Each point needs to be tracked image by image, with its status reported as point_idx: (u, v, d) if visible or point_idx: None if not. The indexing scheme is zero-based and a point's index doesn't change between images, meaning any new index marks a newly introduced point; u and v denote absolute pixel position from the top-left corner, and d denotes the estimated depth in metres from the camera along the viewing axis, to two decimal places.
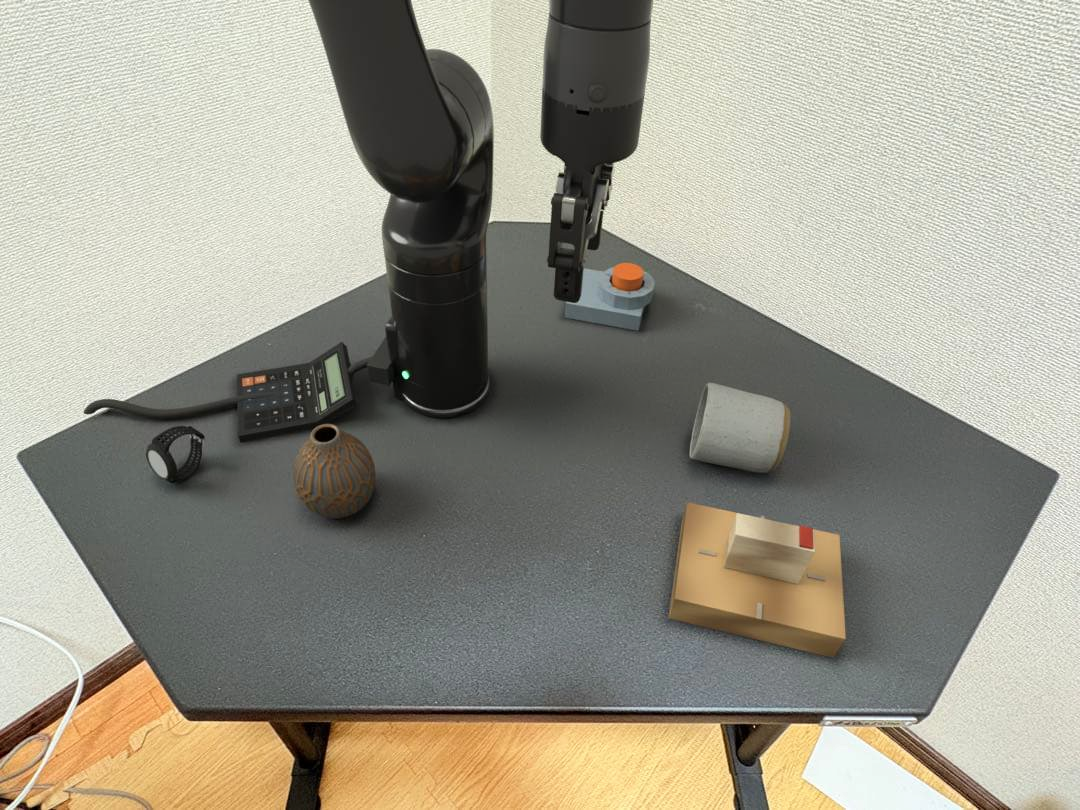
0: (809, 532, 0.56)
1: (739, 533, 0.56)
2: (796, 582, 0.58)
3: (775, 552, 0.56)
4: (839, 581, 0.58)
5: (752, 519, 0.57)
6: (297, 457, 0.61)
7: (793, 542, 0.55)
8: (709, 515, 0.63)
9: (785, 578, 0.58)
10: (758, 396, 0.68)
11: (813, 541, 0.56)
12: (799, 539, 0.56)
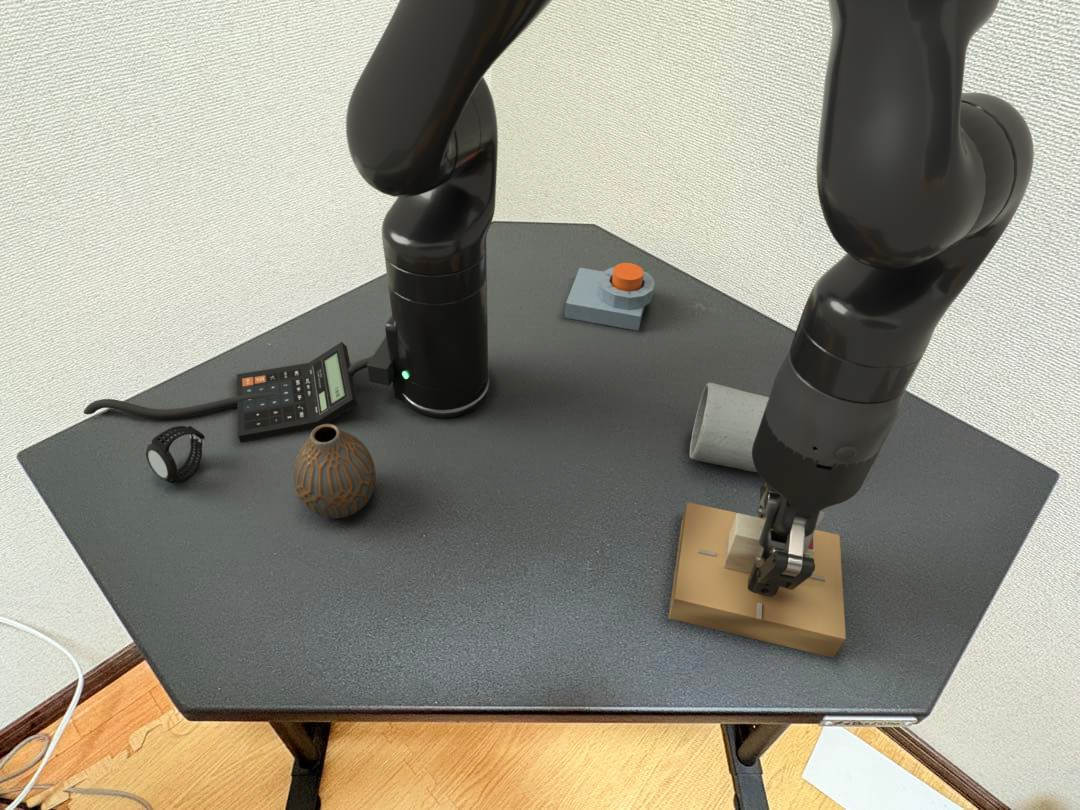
0: None
1: (739, 533, 0.56)
2: None
3: None
4: (839, 581, 0.58)
5: (752, 519, 0.57)
6: (297, 457, 0.61)
7: None
8: (709, 515, 0.63)
9: None
10: (758, 396, 0.68)
11: (813, 541, 0.56)
12: None
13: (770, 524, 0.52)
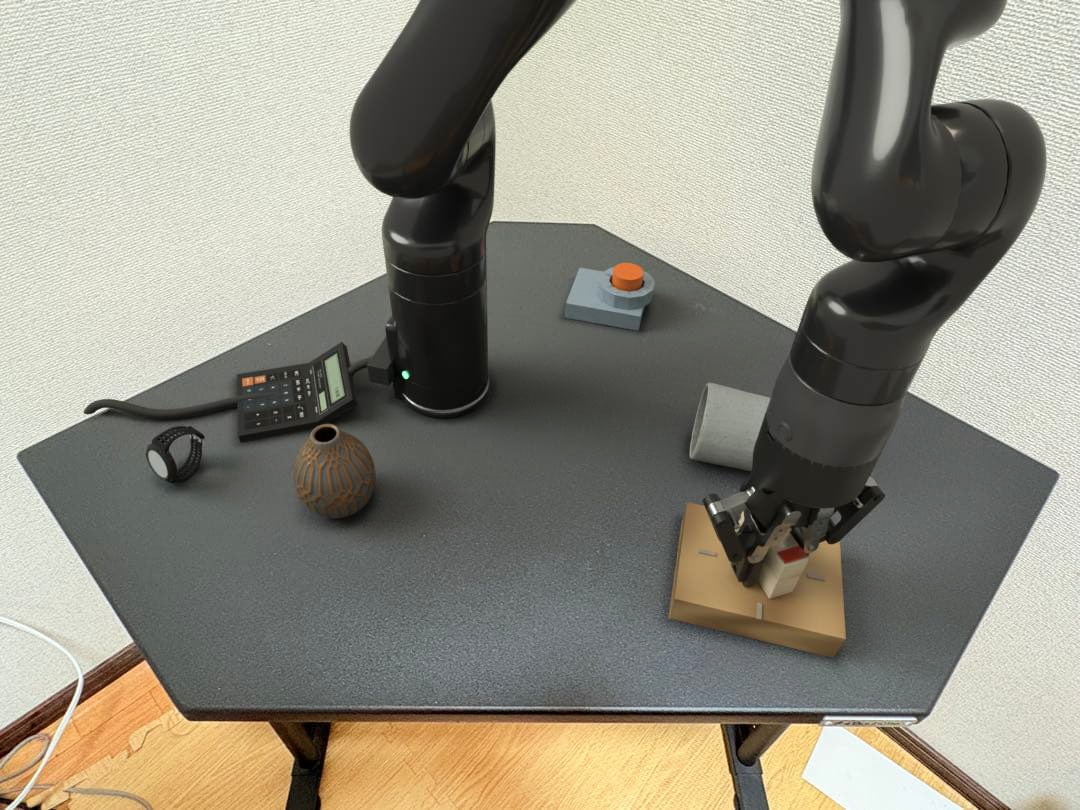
0: (799, 554, 0.54)
1: None
2: (768, 595, 0.57)
3: None
4: (839, 581, 0.58)
5: None
6: (297, 457, 0.61)
7: (777, 547, 0.55)
8: None
9: (762, 584, 0.57)
10: (758, 396, 0.68)
11: (794, 561, 0.54)
12: (786, 551, 0.55)
13: None
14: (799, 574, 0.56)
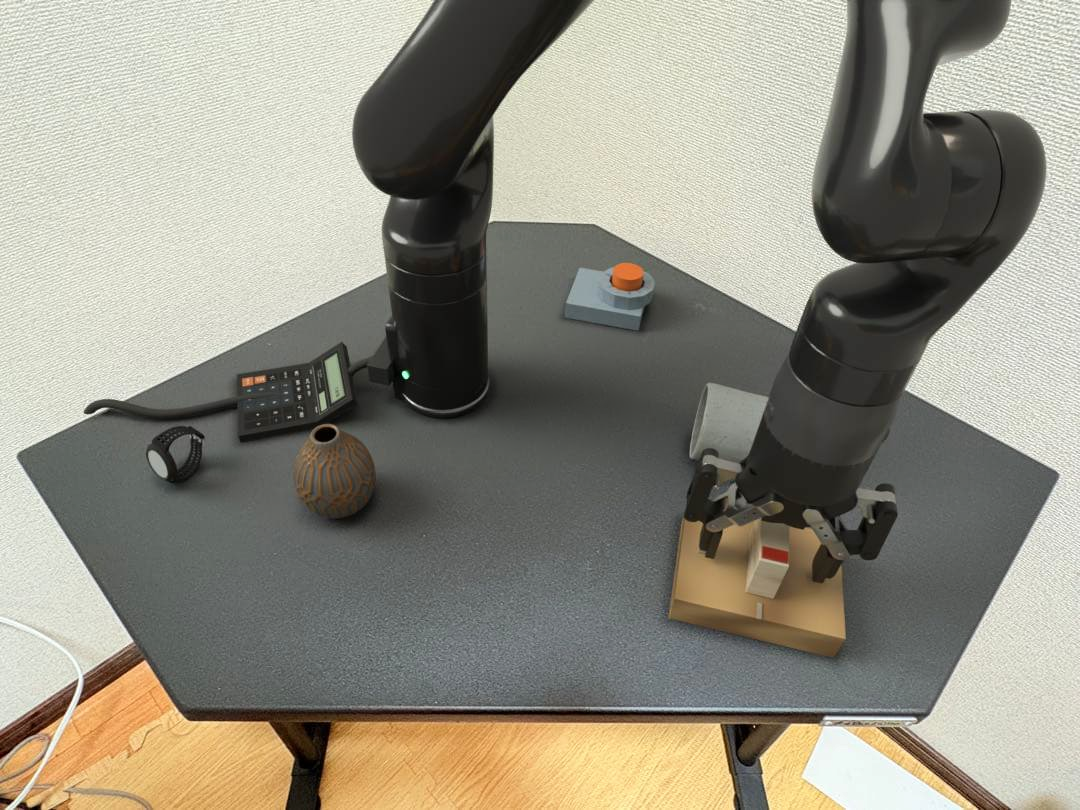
0: (781, 557, 0.54)
1: None
2: (746, 588, 0.57)
3: (757, 540, 0.57)
4: (839, 581, 0.58)
5: None
6: (297, 457, 0.61)
7: (765, 543, 0.55)
8: None
9: (747, 577, 0.58)
10: (758, 396, 0.68)
11: (771, 560, 0.54)
12: (771, 550, 0.55)
13: None
14: (778, 580, 0.55)
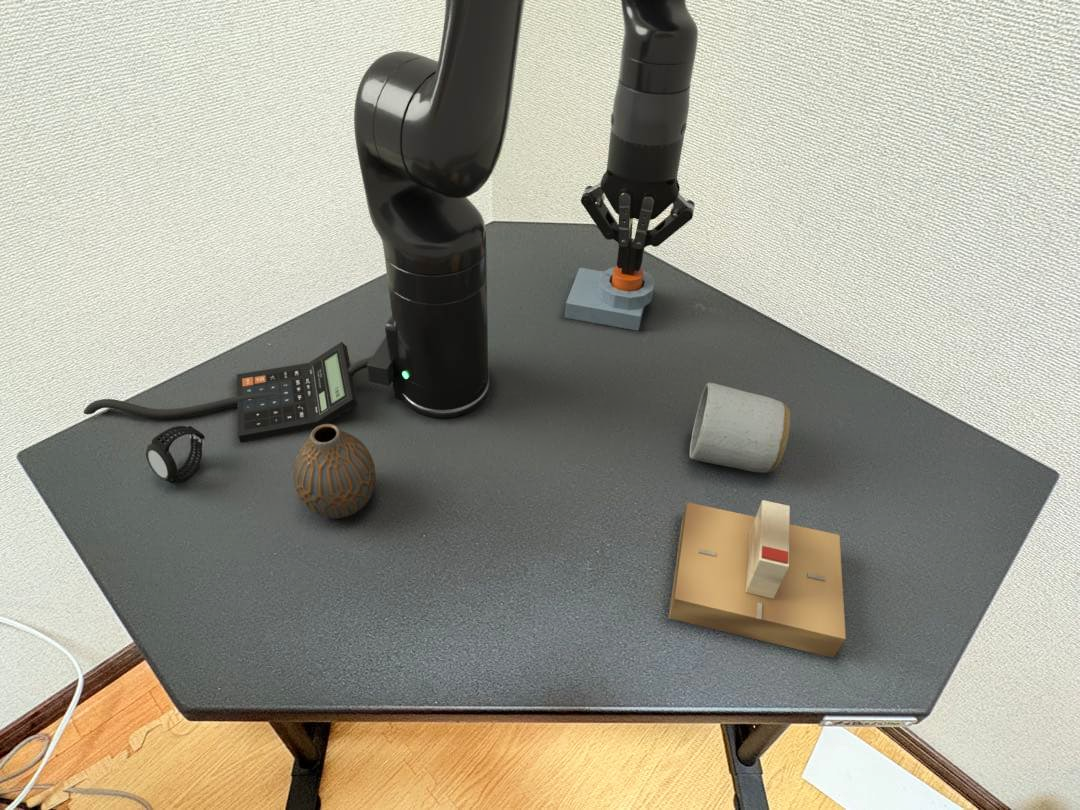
0: (781, 557, 0.54)
1: (763, 502, 0.58)
2: (746, 588, 0.57)
3: (757, 540, 0.57)
4: (839, 581, 0.58)
5: (785, 516, 0.57)
6: (297, 457, 0.61)
7: (765, 543, 0.55)
8: (709, 515, 0.63)
9: (747, 577, 0.58)
10: (758, 396, 0.68)
11: (771, 560, 0.54)
12: (771, 550, 0.55)
13: None
14: (778, 580, 0.55)
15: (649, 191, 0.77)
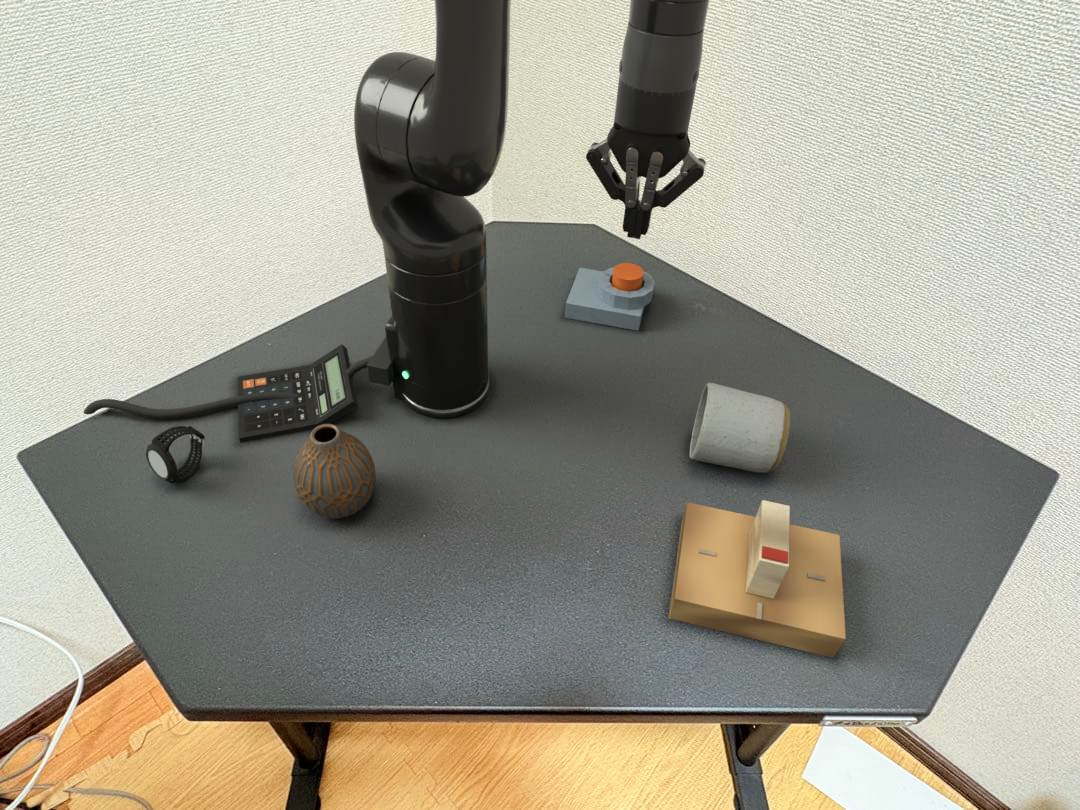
0: (781, 557, 0.54)
1: (763, 502, 0.58)
2: (746, 588, 0.57)
3: (757, 540, 0.57)
4: (839, 581, 0.58)
5: (785, 516, 0.57)
6: (297, 457, 0.61)
7: (765, 543, 0.55)
8: (709, 515, 0.63)
9: (747, 577, 0.58)
10: (758, 396, 0.68)
11: (771, 560, 0.54)
12: (771, 550, 0.55)
13: None
14: (778, 580, 0.55)
15: (658, 146, 0.74)
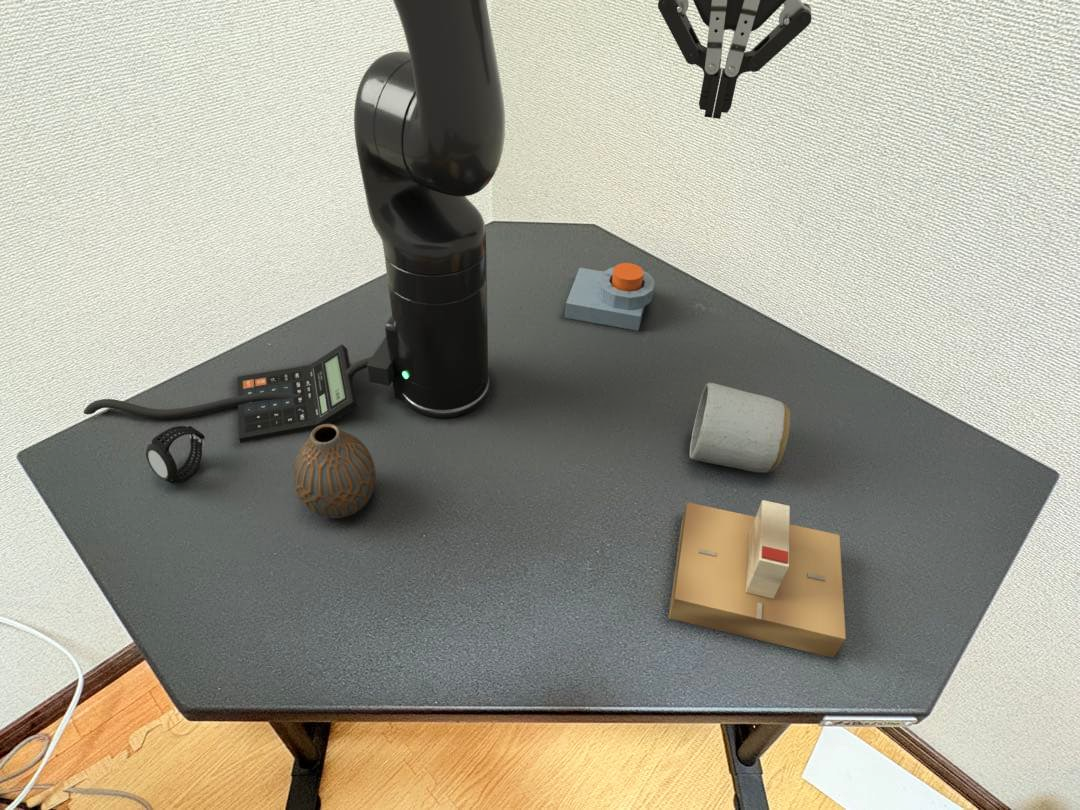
0: (781, 557, 0.54)
1: (763, 502, 0.58)
2: (746, 588, 0.57)
3: (757, 540, 0.57)
4: (839, 581, 0.58)
5: (785, 516, 0.57)
6: (297, 457, 0.61)
7: (765, 543, 0.55)
8: (709, 515, 0.63)
9: (747, 577, 0.58)
10: (758, 396, 0.68)
11: (771, 560, 0.54)
12: (771, 550, 0.55)
13: None
14: (778, 580, 0.55)
15: None
